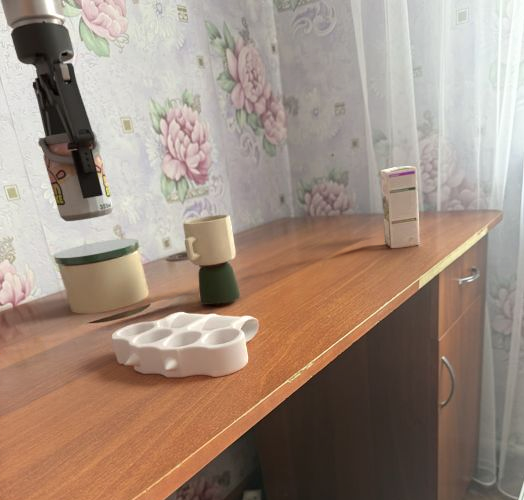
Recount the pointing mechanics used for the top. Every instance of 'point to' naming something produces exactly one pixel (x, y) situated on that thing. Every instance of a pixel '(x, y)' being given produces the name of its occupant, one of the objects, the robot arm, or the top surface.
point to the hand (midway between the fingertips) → (83, 197)
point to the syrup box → (400, 206)
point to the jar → (103, 277)
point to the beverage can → (73, 180)
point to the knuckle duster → (186, 344)
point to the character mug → (212, 257)
